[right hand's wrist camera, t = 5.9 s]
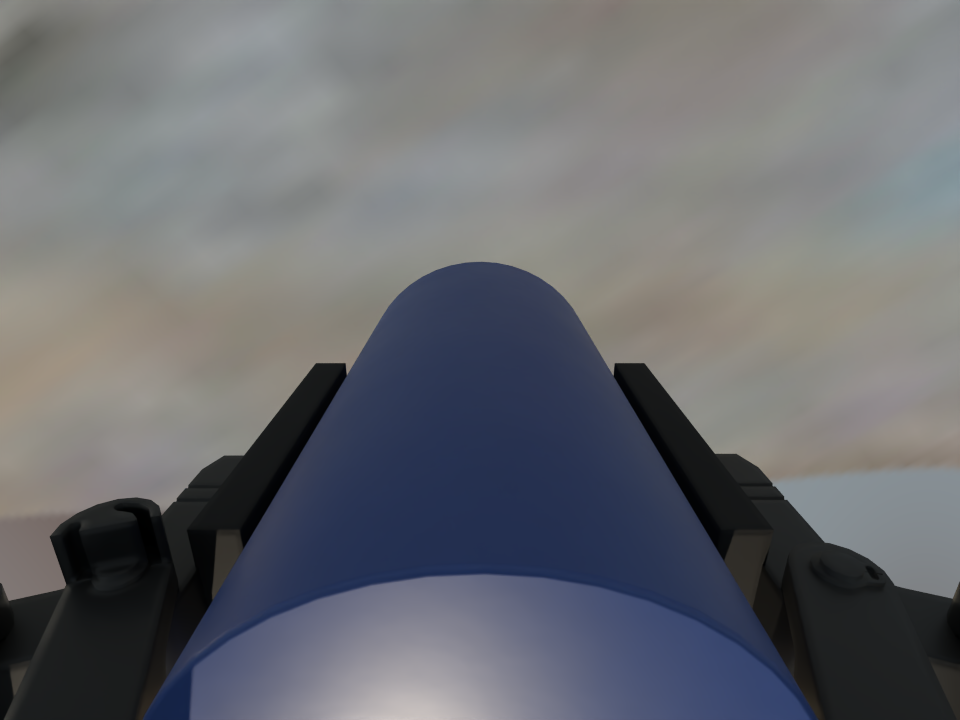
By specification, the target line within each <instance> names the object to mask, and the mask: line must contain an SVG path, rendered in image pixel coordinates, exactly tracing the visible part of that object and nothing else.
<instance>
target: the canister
mask: <svg viewBox="0 0 960 720" xmlns="http://www.w3.org/2000/svg"><path fill="white" fill-rule="evenodd" d="M143 720H818V718H817V717H816V715H815V713H814V711H813V710H812V708H811V706H810V705H809V703H808V701H807V700H806V698H805V696H804V695H803V693H802V691H801V690H800V688H799V686H798V685H797V683H796V681H795V680H794V678H793V676H792V675H791V673H790V671H789V670H788V668H787V666H786V665H785V663H784V661H783V660H782V658H781V656H780V655H779V653H778V651H777V649H776V648H775V646H774V644H773V643H772V641H771V639H770V638H769V636H768V634H767V633H766V631H765V629H764V628H763V626H762V624H761V623H760V621H759V619H758V618H757V616H756V614H755V613H754V611H753V609H752V608H751V606H750V604H749V603H748V601H747V599H746V598H745V596H744V594H743V593H742V591H741V589H740V588H739V586H738V584H737V582H736V581H735V579H734V577H733V576H732V574H731V572H730V571H729V569H728V567H727V566H726V564H725V562H724V561H723V559H722V557H721V556H720V554H719V552H718V551H717V549H716V547H715V546H714V544H713V542H712V541H711V539H710V537H709V536H708V534H707V532H706V531H705V529H704V527H703V526H702V524H701V522H700V520H699V519H698V517H697V515H696V514H695V512H694V510H693V509H692V507H691V505H690V504H689V502H688V500H687V499H686V497H685V495H684V494H683V492H682V490H681V489H680V487H679V485H678V484H677V482H676V480H675V479H674V477H673V475H672V474H671V472H670V470H669V469H668V467H667V465H666V464H665V462H664V460H663V459H662V457H661V455H660V453H659V452H658V450H657V448H656V447H655V445H654V443H653V442H652V440H651V438H650V437H649V435H648V433H647V432H646V430H645V428H644V427H643V425H642V423H641V422H640V420H639V418H638V417H637V415H636V413H635V412H634V410H633V408H632V407H631V405H630V403H629V402H628V400H627V398H626V397H625V395H624V393H623V391H622V390H621V388H620V386H619V385H618V383H617V381H616V380H615V378H614V376H613V375H612V373H611V371H610V370H609V368H608V366H607V365H606V363H605V361H604V360H603V358H602V356H601V355H600V353H599V351H598V350H597V348H596V346H595V345H594V343H593V341H592V340H591V338H590V336H589V335H588V333H587V331H586V330H585V328H584V326H583V324H582V323H581V321H580V319H579V318H578V316H577V315H576V313H575V311H574V310H573V308H572V307H571V306H570V304H569V303H568V302H567V301H566V299H565V298H564V297H563V296H562V295H561V294H560V293H559V292H558V291H556V290H555V289H554V288H553V287H552V286H551V285H549V284H548V283H546V282H545V281H543V280H542V279H540V278H539V277H537V276H535V275H533V274H531V273H529V272H527V271H524V270H521V269H519V268H516V267H513V266H509V265H504V264H499V263H490V262H470V263H462V264H456V265H451V266H448V267H445V268H442V269H439V270H436V271H434V272H432V273H429V274H427V275H425V276H423V277H421V278H420V279H418V280H417V281H415V282H414V283H412V284H411V285H409V286H408V287H407V288H406V289H405V290H404V291H403V292H401V293H400V294H399V295H398V296H397V297H396V299H395V300H394V301H393V302H392V303H391V304H390V306H389V307H388V309H387V310H386V312H385V313H384V315H383V316H382V318H381V320H380V321H379V323H378V325H377V326H376V328H375V330H374V331H373V333H372V335H371V336H370V338H369V340H368V341H367V343H366V345H365V346H364V348H363V350H362V351H361V353H360V355H359V356H358V358H357V360H356V361H355V363H354V365H353V366H352V368H351V370H350V371H349V373H348V375H347V377H346V378H345V380H344V382H343V383H342V385H341V387H340V388H339V390H338V392H337V393H336V395H335V397H334V398H333V400H332V402H331V403H330V405H329V407H328V408H327V410H326V412H325V413H324V415H323V417H322V418H321V420H320V422H319V423H318V425H317V427H316V428H315V430H314V432H313V433H312V435H311V437H310V439H309V440H308V442H307V444H306V445H305V447H304V449H303V450H302V452H301V454H300V455H299V457H298V459H297V460H296V462H295V464H294V465H293V467H292V469H291V470H290V472H289V474H288V475H287V477H286V479H285V480H284V482H283V484H282V485H281V487H280V489H279V490H278V492H277V494H276V495H275V497H274V499H273V501H272V502H271V504H270V506H269V507H268V509H267V511H266V512H265V514H264V516H263V517H262V519H261V521H260V522H259V524H258V526H257V527H256V529H255V531H254V532H253V534H252V536H251V537H250V539H249V541H248V542H247V544H246V546H245V547H244V549H243V551H242V552H241V554H240V556H239V557H238V559H237V561H236V563H235V564H234V566H233V568H232V569H231V571H230V573H229V574H228V576H227V578H226V579H225V581H224V583H223V584H222V586H221V588H220V589H219V591H218V593H217V594H216V596H215V598H214V599H213V601H212V603H211V604H210V606H209V608H208V609H207V611H206V613H205V614H204V616H203V618H202V619H201V621H200V623H199V625H198V626H197V628H196V630H195V631H194V633H193V635H192V636H191V638H190V640H189V641H188V643H187V645H186V646H185V648H184V650H183V651H182V653H181V655H180V656H179V658H178V660H177V661H176V663H175V665H174V666H173V668H172V670H171V671H170V673H169V675H168V676H167V678H166V680H165V681H164V683H163V685H162V687H161V688H160V690H159V692H158V693H157V695H156V697H155V698H154V700H153V702H152V703H151V705H150V707H149V708H148V710H147V712H146V713H145V715H144V718H143Z"/></svg>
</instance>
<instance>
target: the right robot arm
mask: <svg viewBox="0 0 960 720" xmlns="http://www.w3.org/2000/svg"><path fill="white" fill-rule="evenodd" d="M346 377H347V374H346V363H316V364H315V365H314V367H313V368H312V369H311V370H310V372H309V373H308V374H307V376H306V377H305V378H304V379H303V381H302V382H301V383H300V385H299V386H298V387H297V388H296V390H295V391H294V392H293V394H292V395H291V396H290V397H289V399H288V400H287V401H286V403H285V404H284V405H283V406H282V408H281V409H280V410H279V412H278V413H277V414H276V415H275V417H274V418H273V419H272V421H271V422H270V423H269V424H268V426H267V427H266V428H265V430H264V431H263V432H262V433H261V435H260V436H259V437H258V439H257V440H256V441H255V442H254V444H253V445H252V446H251V448H250V449H249V450H248V451H247V453H246V454H245V455H244V456H223V457H221V458H220V459H218V460H217V461H215V462H213V463H212V464H210V465H208V466H207V467H205V468H204V469H202V470H201V471H200V473H199V474H198V475H197V476H196V477H195V478H194V479H193V481H192V482H191V483H190V484H189V485H188V486H189V487H188V488H186V489H185V490H184V491H183V492H182V493H181V494H180V495H179V497H178V498H177V501H176V502H173V503H172V505H171V506H170V507H169V508H168V509H167V510H166V511H165V512H164V514H163V515H162V516H161V512H160V508H159V506H158V505H157V504H156V503H154V502H153V501H152V500H148V499H142V498H125V499H116V500H113V501H109V502H105V503H101V504H98V505H95V506H93V507H91V508H88V509H86V510H84V511H81V512H79V513H77V514H75V515H74V516H72V517H71V518H69V519H68V520H66V521H65V522H63V523H62V524H60V526H59V527H58V528H57V529H56V530H55V531H54V532H53V533H52V535H51V536H50V539H51V542H52V545H53V547H54V550H55V553H56V556H57V559H58V562H59V565H60V567H61V570H62V573H63V576H64V579H65V582H66V587H65V589H61V590H57V591H53V592H48V593H43V594H39V595H34V596H30V597H25V598H21V599H16V600H11V601H8V598H7V596H6V593H5V591H4V588H3V586H2V584H1V583H0V720H143V718H144V715H145V713H146V712H147V710H148V708H149V707H150V705H151V703H152V702H153V700H154V698H155V697H156V695H157V693H158V692H159V690H160V688H161V687H162V685H163V683H164V681H165V680H166V678H167V676H168V675H169V673H170V671H171V670H172V668H173V666H174V665H175V663H176V661H177V660H178V658H179V656H180V655H181V653H182V651H183V650H184V648H185V646H186V645H187V643H188V641H189V640H190V638H191V636H192V635H193V633H194V631H195V630H196V628H197V626H198V625H199V623H200V621H201V619H202V618H203V616H204V614H205V613H206V611H207V609H208V608H209V606H210V604H211V603H212V601H213V599H214V598H215V596H216V594H217V593H218V591H219V589H220V588H221V586H222V584H223V583H224V581H225V579H226V578H227V576H228V574H229V573H230V571H231V569H232V568H233V566H234V564H235V563H236V561H237V559H238V557H239V556H240V554H241V552H242V551H243V549H244V547H245V546H246V544H247V542H248V541H249V539H250V537H251V536H252V534H253V532H254V531H255V529H256V527H257V526H258V524H259V522H260V521H261V519H262V517H263V516H264V514H265V512H266V511H267V509H268V507H269V506H270V504H271V502H272V501H273V499H274V497H275V495H276V494H277V492H278V490H279V489H280V487H281V485H282V484H283V482H284V480H285V479H286V477H287V475H288V474H289V472H290V470H291V469H292V467H293V465H294V464H295V462H296V460H297V459H298V457H299V455H300V454H301V452H302V450H303V449H304V447H305V445H306V444H307V442H308V440H309V439H310V437H311V435H312V433H313V432H314V430H315V428H316V427H317V425H318V423H319V422H320V420H321V418H322V417H323V415H324V413H325V412H326V410H327V408H328V407H329V405H330V403H331V402H332V400H333V398H334V397H335V395H336V393H337V392H338V390H339V388H340V387H341V385H342V383H343V382H344V380H345V378H346ZM614 378H615V380H616V381H617V383H618V385H619V386H620V388H621V390H622V391H623V393H624V395H625V397H626V398H627V400H628V402H629V403H630V405H631V407H632V408H633V410H634V412H635V413H636V415H637V417H638V418H639V420H640V422H641V423H642V425H643V427H644V428H645V430H646V432H647V433H648V435H649V437H650V438H651V440H652V442H653V443H654V445H655V447H656V448H657V450H658V452H659V453H660V455H661V457H662V459H663V460H664V462H665V464H666V465H667V467H668V469H669V470H670V472H671V474H672V475H673V477H674V479H675V480H676V482H677V484H678V485H679V487H680V489H681V490H682V492H683V494H684V495H685V497H686V499H687V500H688V502H689V504H690V505H691V507H692V509H693V510H694V512H695V514H696V515H697V517H698V519H699V520H700V522H701V524H702V526H703V527H704V529H705V531H706V532H707V534H708V536H709V537H710V539H711V541H712V542H713V544H714V546H715V547H716V549H717V551H718V552H719V554H720V556H721V557H722V559H723V561H724V562H725V564H726V566H727V567H728V569H729V571H730V572H731V574H732V576H733V577H734V579H735V581H736V582H737V584H738V586H739V588H740V589H741V591H742V593H743V594H744V596H745V598H746V599H747V601H748V603H749V604H750V606H751V608H752V609H753V611H754V613H755V614H756V616H757V618H758V619H759V621H760V623H761V624H762V626H763V628H764V629H765V631H766V633H767V634H768V636H769V638H770V639H771V641H772V643H773V644H774V646H775V648H776V649H777V651H778V653H779V655H780V656H781V658H782V660H783V661H784V663H785V665H786V666H787V668H788V670H789V671H790V673H791V675H792V676H793V678H794V680H795V681H796V683H797V685H798V686H799V688H800V690H801V691H802V693H803V695H804V696H805V698H806V700H807V701H808V703H809V705H810V706H811V708H812V710H813V711H814V713H815V715H816V717H817V718H818V720H960V582H959V585H958V587H957V590H956V592H955V595H954V597H953V599H951V598H947V597H942V596H937V595H932V594H928V593H923V592H919V591H914V590H909V589H905V588H901V587H897V586H895V585H894V584H893V582H892V581H891V580H890V578H889V577H888V576H887V574H886V573H885V571H884V570H882V569H881V568H880V567H878V566H877V565H876V564H874V563H873V562H872V561H871V560H869V559H868V558H866V557H864V556H862V555H860V554H858V553H856V552H854V551H852V550H850V549H847V548H844V547H840V546H837V545H834V544H830V543H825V542H824V541H823V540H822V539H821V538H820V537H819V536H818V534H817V533H816V532H815V531H814V530H813V529H812V528H811V527H810V525H809V524H808V523H807V522H806V521H805V520H804V519H803V517H802V516H801V515H800V514H799V513H798V512H797V511H796V510H795V508H794V507H793V506H792V505H791V504H790V503H789V502H788V500H784V496H783V495H782V494H781V493H780V491H779V490H778V489H777V488H776V487H773V486H772V482H771V481H770V480H769V479H768V478H767V477H766V476H765V474H764V473H763V472H762V471H761V470H760V469H759V468H758V467H757V466H755V465H754V464H752V463H750V462H749V461H747V460H745V459H744V458H742V457H741V456H739V455H737V454H715V453H714V452H713V451H712V450H711V448H710V447H709V446H708V444H707V443H706V442H705V441H704V439H703V438H702V437H701V435H700V434H699V433H698V432H697V430H696V429H695V428H694V426H693V425H692V424H691V423H690V421H689V420H688V419H687V417H686V416H685V415H684V414H683V412H682V411H681V410H680V409H679V407H678V406H677V405H676V403H675V402H674V401H673V400H672V398H671V397H670V396H669V394H668V393H667V392H666V391H665V389H664V388H663V387H662V385H661V384H660V383H659V382H658V380H657V379H656V378H655V376H654V375H653V374H652V373H651V371H650V370H649V369H648V367H647V366H646V365H645V364H644V363H615V367H614Z"/></svg>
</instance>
